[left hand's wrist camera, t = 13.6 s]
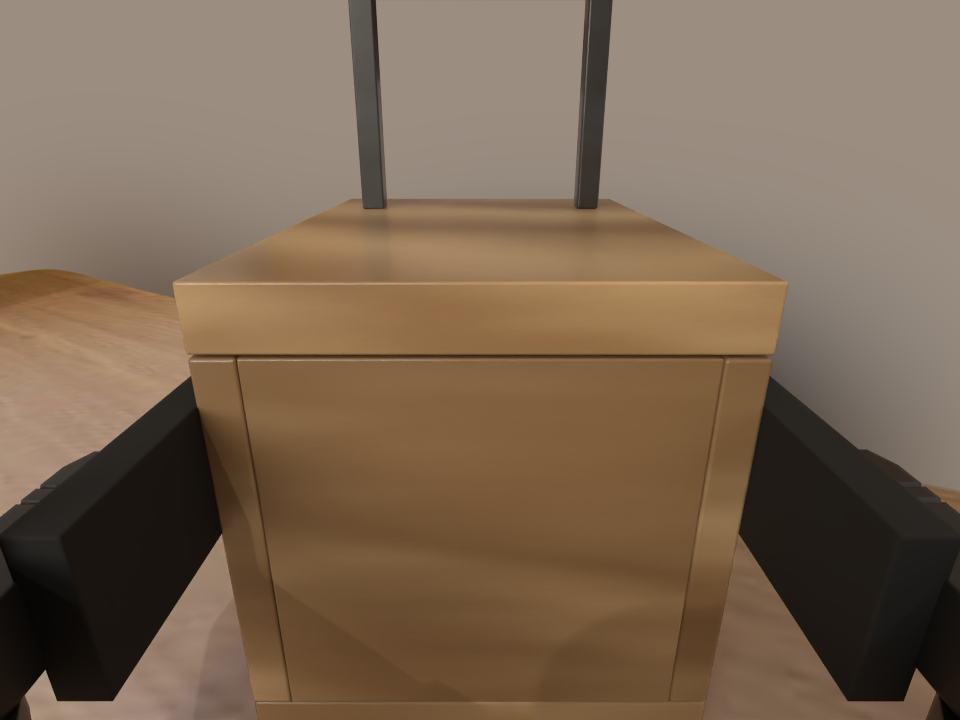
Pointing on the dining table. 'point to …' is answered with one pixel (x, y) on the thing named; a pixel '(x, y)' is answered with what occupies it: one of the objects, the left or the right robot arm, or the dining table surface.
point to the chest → (480, 529)
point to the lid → (480, 264)
